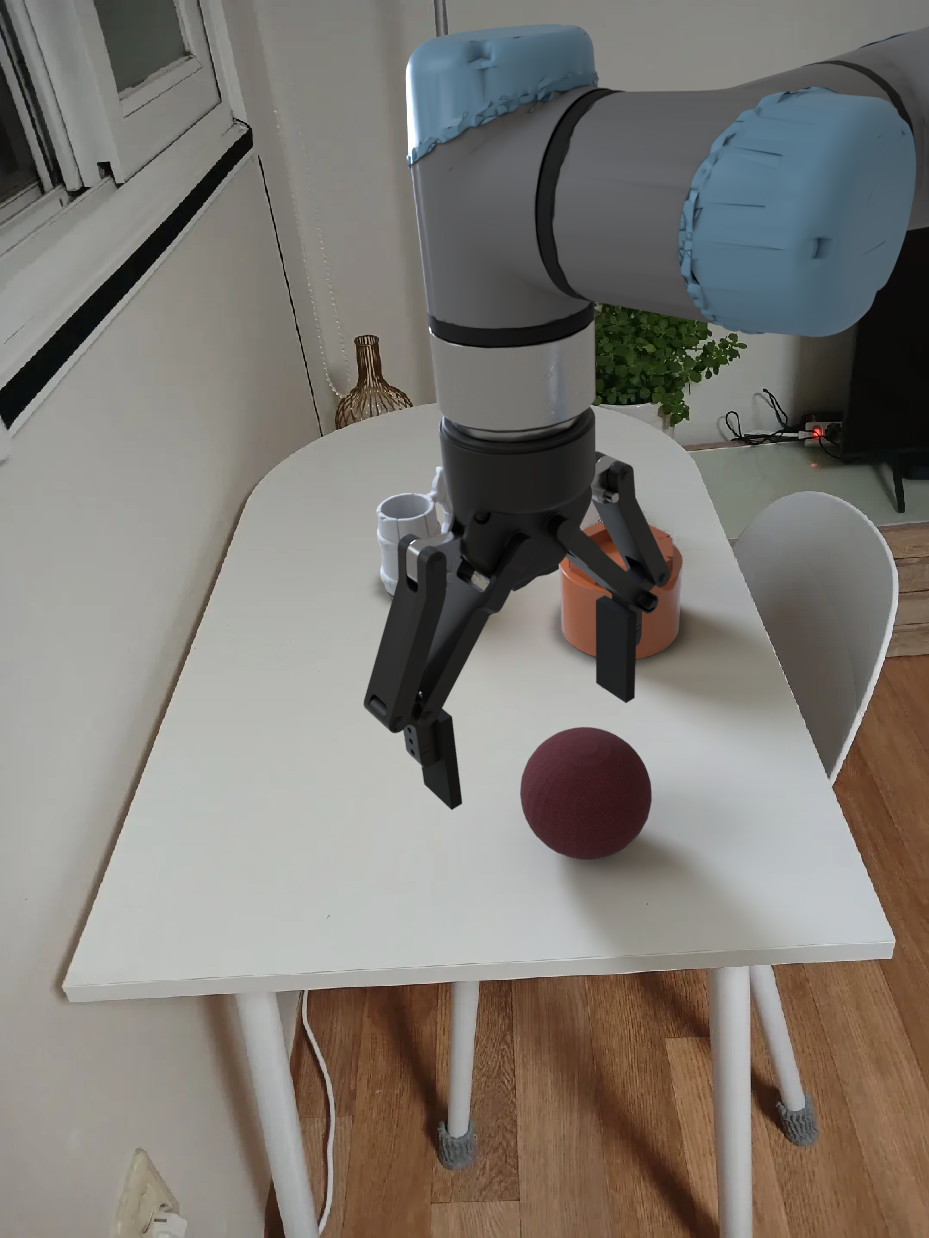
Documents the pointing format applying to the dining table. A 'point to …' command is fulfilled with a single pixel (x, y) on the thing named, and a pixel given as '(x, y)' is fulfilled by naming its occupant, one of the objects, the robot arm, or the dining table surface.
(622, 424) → the dining table surface
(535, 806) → the decorative ball
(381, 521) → the mug
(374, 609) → the dining table surface
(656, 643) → the pedestal
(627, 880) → the dining table surface
